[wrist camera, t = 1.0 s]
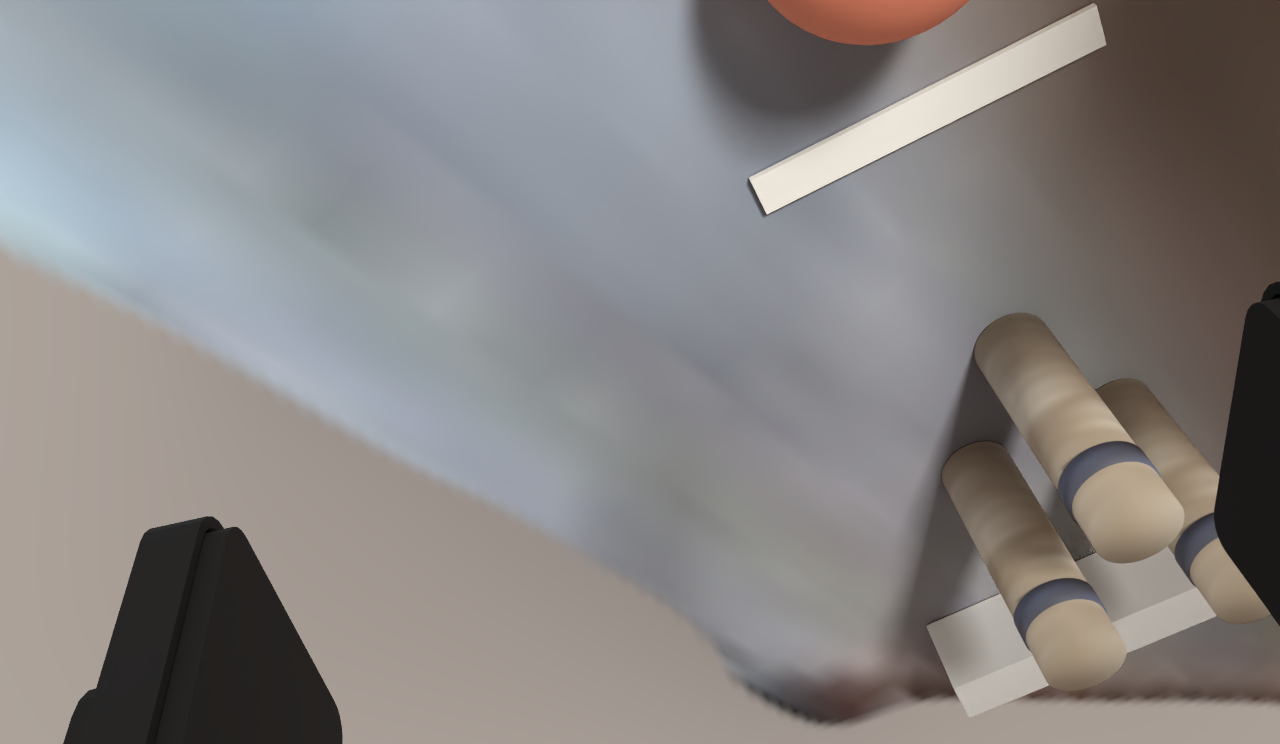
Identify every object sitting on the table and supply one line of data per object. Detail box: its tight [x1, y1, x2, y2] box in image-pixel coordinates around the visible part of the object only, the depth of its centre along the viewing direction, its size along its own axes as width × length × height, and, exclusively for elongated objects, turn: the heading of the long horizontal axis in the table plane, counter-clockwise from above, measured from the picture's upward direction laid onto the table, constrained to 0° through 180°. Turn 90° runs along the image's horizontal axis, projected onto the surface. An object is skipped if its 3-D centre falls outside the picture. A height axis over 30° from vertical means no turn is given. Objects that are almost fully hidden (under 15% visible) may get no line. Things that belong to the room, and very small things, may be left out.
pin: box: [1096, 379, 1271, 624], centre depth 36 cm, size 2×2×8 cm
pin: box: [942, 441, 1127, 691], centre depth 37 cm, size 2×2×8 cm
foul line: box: [749, 3, 1107, 214], centre depth 32 cm, size 10×1×1 cm, turn 116°
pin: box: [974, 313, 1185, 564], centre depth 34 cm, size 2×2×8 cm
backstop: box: [926, 546, 1217, 718], centre depth 43 cm, size 13×2×3 cm, turn 116°
